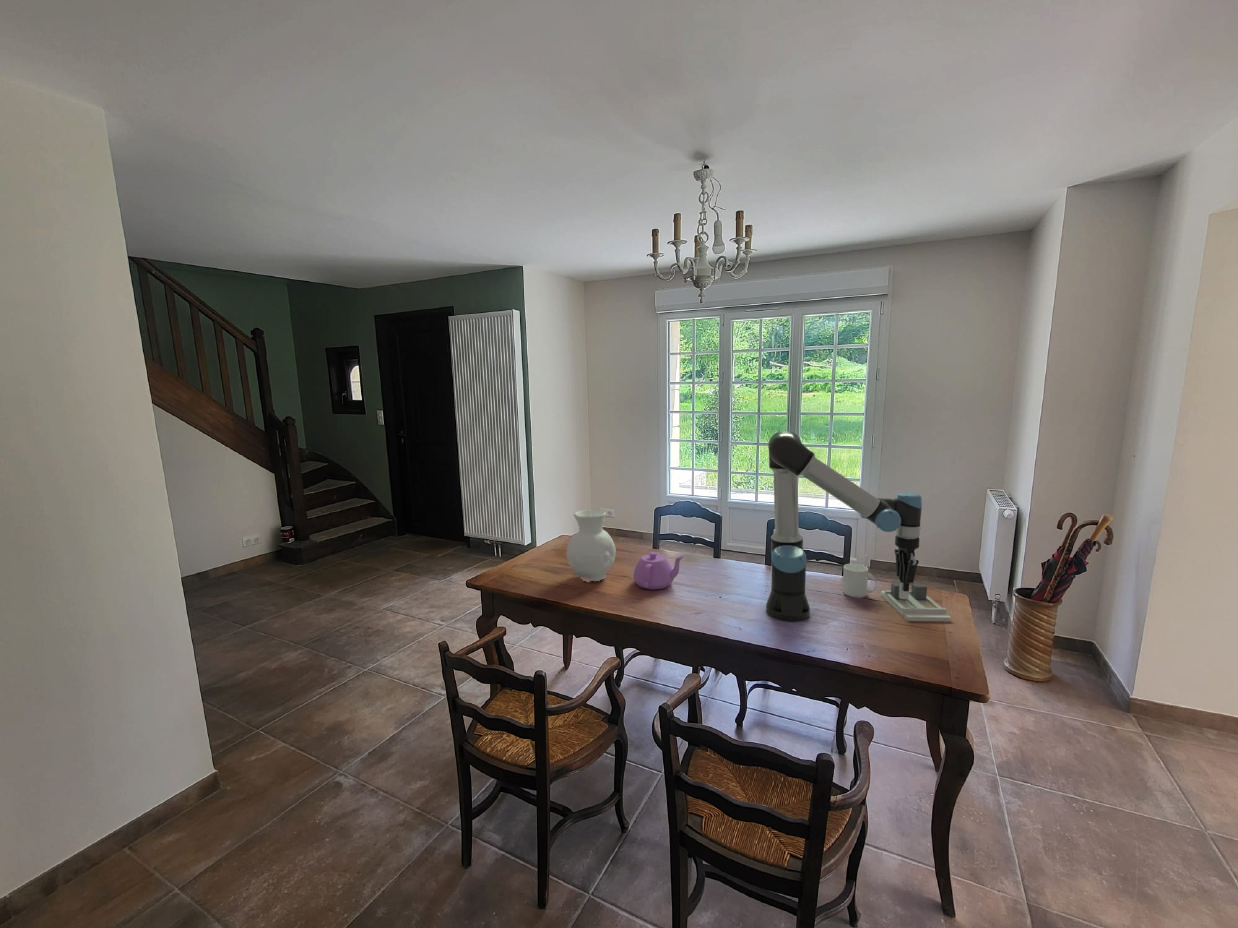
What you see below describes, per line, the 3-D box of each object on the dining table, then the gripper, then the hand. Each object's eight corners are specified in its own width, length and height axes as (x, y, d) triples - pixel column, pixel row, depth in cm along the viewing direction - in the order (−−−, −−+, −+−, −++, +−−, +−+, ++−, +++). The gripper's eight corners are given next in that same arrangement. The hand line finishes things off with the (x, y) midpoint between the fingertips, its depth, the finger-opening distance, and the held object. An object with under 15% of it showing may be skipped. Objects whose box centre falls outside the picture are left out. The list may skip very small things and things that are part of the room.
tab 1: (894, 598, 187) (895, 586, 186) (890, 595, 190) (891, 582, 189) (905, 598, 186) (906, 586, 186) (901, 595, 189) (902, 583, 188)
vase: (623, 574, 224) (621, 509, 220) (596, 591, 207) (593, 521, 202) (590, 567, 234) (587, 504, 230) (561, 583, 217) (557, 515, 212)
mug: (874, 602, 189) (875, 574, 187) (840, 594, 196) (841, 568, 194) (878, 594, 195) (880, 567, 194) (845, 587, 203) (846, 562, 201)
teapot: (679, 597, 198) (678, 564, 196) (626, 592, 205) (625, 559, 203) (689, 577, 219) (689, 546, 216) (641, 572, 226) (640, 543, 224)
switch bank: (907, 620, 173) (908, 612, 173) (880, 594, 195) (881, 587, 194) (950, 621, 172) (951, 613, 172) (918, 594, 194) (919, 587, 193)
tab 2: (914, 599, 186) (915, 586, 185) (910, 596, 188) (911, 583, 188) (926, 599, 185) (927, 586, 184) (922, 596, 188) (922, 583, 187)
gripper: (928, 541, 173) (923, 606, 177) (909, 530, 186) (905, 590, 190) (905, 541, 174) (901, 605, 177) (888, 530, 186) (885, 590, 190)
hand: (903, 598), depth 183 cm, fingers closed
